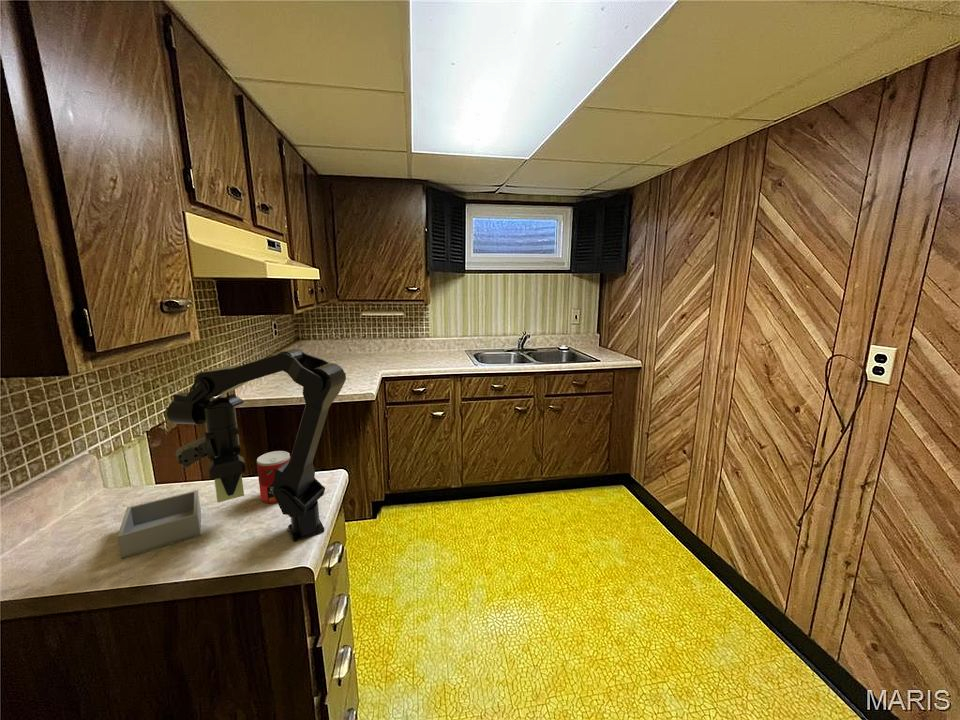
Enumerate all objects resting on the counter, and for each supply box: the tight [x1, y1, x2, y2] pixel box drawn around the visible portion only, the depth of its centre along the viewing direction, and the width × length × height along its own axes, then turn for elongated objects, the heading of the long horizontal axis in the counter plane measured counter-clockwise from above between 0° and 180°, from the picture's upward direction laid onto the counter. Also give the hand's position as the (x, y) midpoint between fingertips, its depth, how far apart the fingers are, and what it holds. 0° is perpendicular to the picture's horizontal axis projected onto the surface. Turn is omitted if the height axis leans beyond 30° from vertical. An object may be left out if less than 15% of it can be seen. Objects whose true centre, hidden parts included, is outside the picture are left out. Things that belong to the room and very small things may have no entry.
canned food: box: [256, 450, 291, 504], centre depth 100 cm, size 8×8×11 cm
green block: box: [213, 473, 245, 503], centre depth 87 cm, size 5×5×6 cm
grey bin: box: [116, 489, 202, 560], centre depth 86 cm, size 13×13×5 cm
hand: (230, 490), depth 88 cm, fingers closed on green block, 5 cm apart
